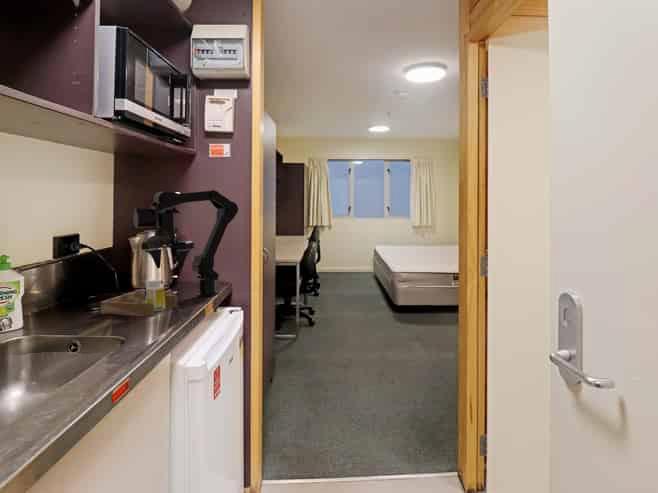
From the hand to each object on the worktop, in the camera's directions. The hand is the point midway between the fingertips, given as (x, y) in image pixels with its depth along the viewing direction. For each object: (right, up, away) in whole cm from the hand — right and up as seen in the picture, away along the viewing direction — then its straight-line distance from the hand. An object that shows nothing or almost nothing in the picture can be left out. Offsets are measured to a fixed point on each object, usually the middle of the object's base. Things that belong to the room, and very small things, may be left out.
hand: (169, 268), depth 141 cm
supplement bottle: (0, -14, -11) cm, 18 cm away
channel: (-5, -13, -6) cm, 16 cm away
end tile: (0, -14, -11) cm, 18 cm away
